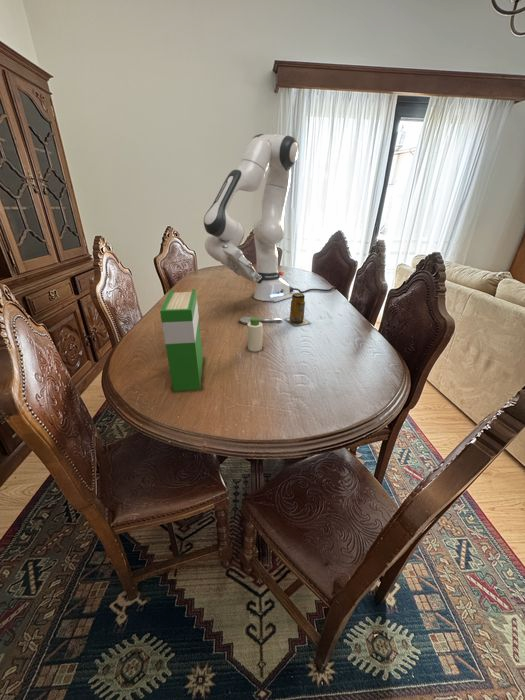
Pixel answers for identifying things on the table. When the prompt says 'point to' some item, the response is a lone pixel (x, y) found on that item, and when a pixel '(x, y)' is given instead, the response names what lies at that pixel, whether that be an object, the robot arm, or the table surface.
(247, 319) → the spoon
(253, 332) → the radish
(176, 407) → the table surface
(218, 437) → the table surface
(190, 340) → the hardback book
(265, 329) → the table surface
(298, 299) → the condiment
